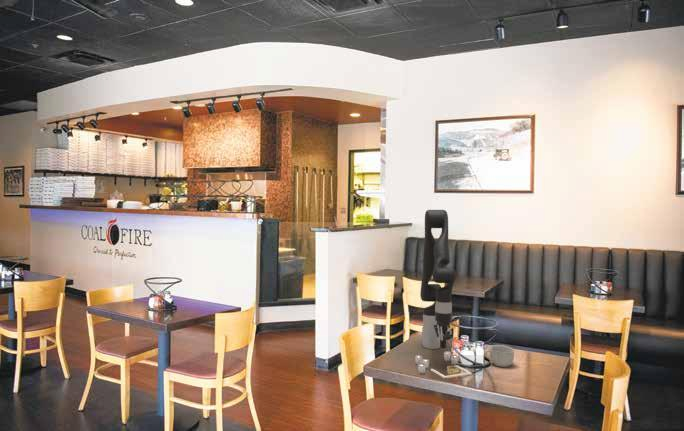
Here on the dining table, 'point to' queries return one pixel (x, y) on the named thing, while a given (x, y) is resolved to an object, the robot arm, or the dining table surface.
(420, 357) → the spacer field
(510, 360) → the teacup
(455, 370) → the nut
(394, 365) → the dining table surface
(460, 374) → the frame
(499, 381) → the dining table surface
